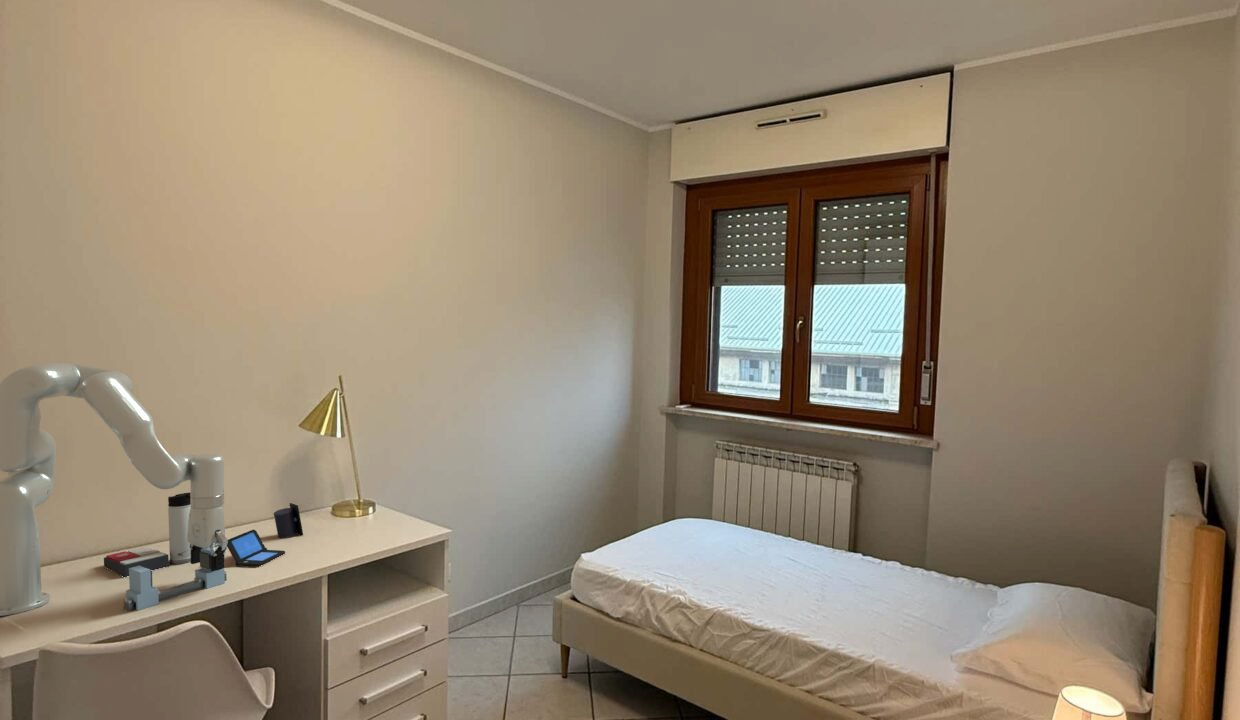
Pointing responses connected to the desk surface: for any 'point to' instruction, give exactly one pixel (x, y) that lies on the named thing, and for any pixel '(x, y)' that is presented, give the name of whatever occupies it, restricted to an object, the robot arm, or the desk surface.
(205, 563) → the notched grey block
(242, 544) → the handheld game console
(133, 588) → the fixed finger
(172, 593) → the rail
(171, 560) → the travel mug
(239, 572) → the desk surface
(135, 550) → the calculator
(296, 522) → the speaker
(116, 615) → the desk surface
